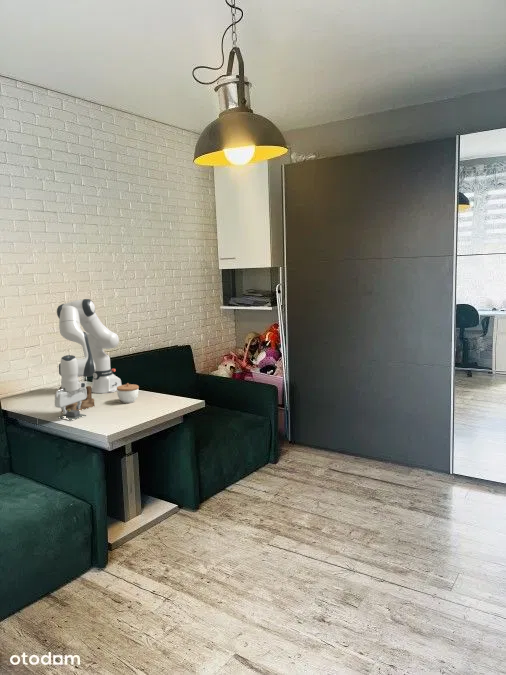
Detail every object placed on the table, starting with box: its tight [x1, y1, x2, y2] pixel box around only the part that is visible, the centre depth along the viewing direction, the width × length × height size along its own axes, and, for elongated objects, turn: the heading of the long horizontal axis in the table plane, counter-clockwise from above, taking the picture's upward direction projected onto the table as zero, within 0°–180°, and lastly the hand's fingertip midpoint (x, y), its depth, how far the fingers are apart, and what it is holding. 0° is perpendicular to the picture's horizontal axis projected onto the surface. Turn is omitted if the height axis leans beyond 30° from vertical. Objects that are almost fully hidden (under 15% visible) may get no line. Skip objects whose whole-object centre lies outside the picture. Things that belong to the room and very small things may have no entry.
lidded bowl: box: [116, 382, 140, 404], centre depth 295 cm, size 13×13×11 cm
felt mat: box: [59, 413, 87, 421], centre depth 265 cm, size 10×10×1 cm
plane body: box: [61, 385, 95, 413], centre depth 279 cm, size 18×6×12 cm, turn 150°
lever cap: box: [63, 409, 81, 418], centre depth 265 cm, size 7×4×4 cm, turn 67°
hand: (71, 411), depth 265 cm, fingers open, 8 cm apart
